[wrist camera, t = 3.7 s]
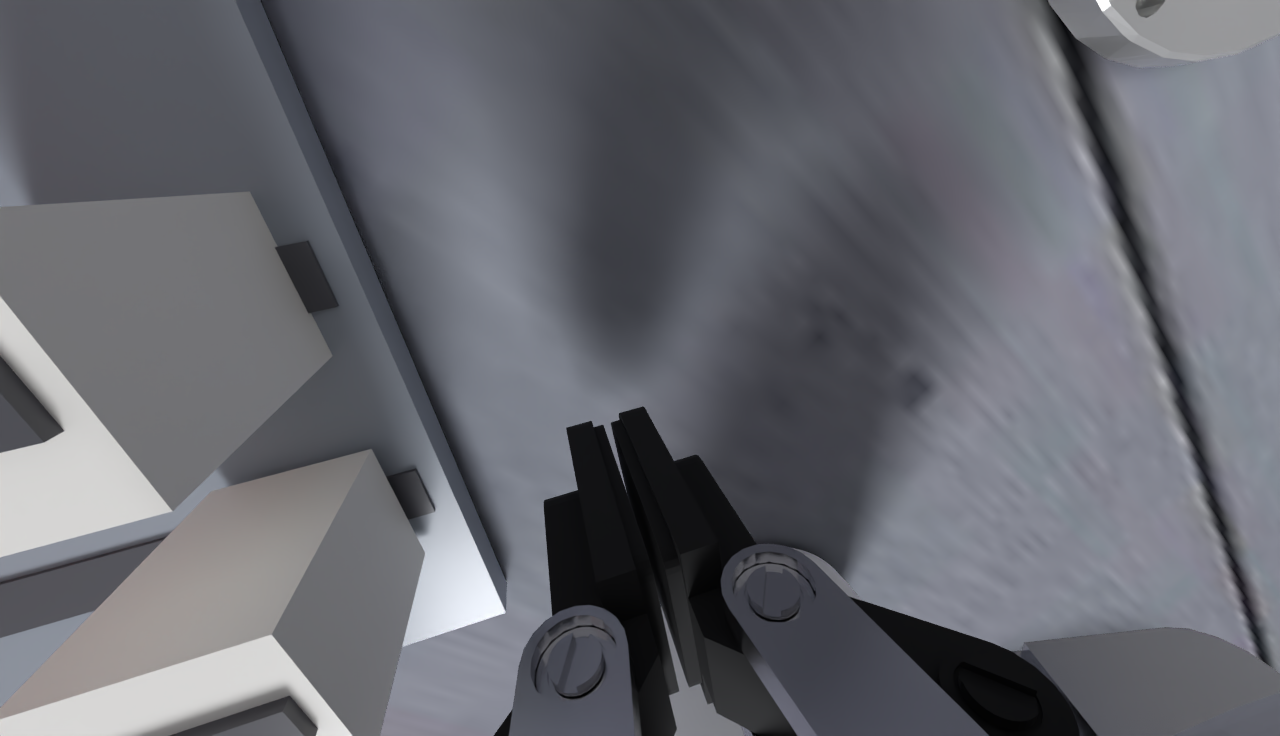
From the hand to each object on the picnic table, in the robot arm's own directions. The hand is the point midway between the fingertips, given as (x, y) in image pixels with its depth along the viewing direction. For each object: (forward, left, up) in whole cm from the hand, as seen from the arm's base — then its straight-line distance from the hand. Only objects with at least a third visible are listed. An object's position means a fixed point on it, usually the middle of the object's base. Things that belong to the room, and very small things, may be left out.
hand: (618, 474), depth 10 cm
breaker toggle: (+6, 0, -1) cm, 6 cm away
